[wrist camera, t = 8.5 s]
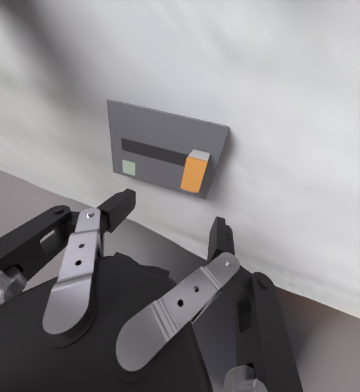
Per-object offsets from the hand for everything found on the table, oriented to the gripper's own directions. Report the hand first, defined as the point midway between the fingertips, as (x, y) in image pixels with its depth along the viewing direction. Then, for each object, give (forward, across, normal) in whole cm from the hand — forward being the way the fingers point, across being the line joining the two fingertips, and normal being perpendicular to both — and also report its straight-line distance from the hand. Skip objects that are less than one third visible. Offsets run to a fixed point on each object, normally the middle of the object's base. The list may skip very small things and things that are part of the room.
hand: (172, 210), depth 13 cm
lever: (+15, 0, 0) cm, 15 cm away
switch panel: (+19, +7, 0) cm, 21 cm away
